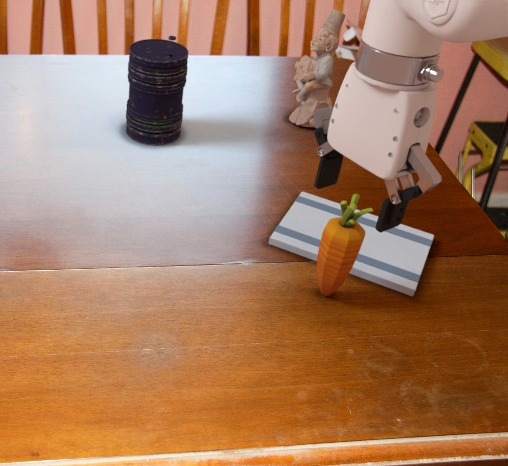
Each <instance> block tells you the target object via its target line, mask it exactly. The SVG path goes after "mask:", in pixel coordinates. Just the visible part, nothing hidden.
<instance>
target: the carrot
mask: <svg viewBox="0 0 508 466" xmlns="http://www.w3.org/2000/svg"><path fill="white" fill-rule="evenodd" d="M360 197H361V195H360V194H359V193H353V194H352V196H351V200H350V204H349V205H348V200H341V201H340V203H339V204H340V206H341V211H342V215H343V217H337V218H332V219H330V220H329V221H328V223H327V225H326V226H325V228H324V230H323V233H322V237H321V241H320V246H319V250H318V255H317V261H316V280H317V285H318V288H319V290H320V293H321V294H322V296H324V297H329V296H331V295H333V294H334V293H335V292H337V290H338V289H340V287H342V286H343V284H344V283H345V281H346V279H347V278H348V276H349V275H350V274H349V273H350V271H351V269H352V267H353V265H354V263H355V261H356V258H357V256H358V253H359V251H360V248H361V246H362V243H363V240H364V237H365V230H364V229H363V228H362V226H361V225H360V224H359V223H358V222H357V221H356V220H357V219H358V218H359V217H360V216H362V215H364V214H366V213H369V214H371V213H374V209H373V208H372V207H367V208H363V209H360V212H358V213H357V212H354V211H355V210H356V209H358V202H359V200H360Z"/></svg>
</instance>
